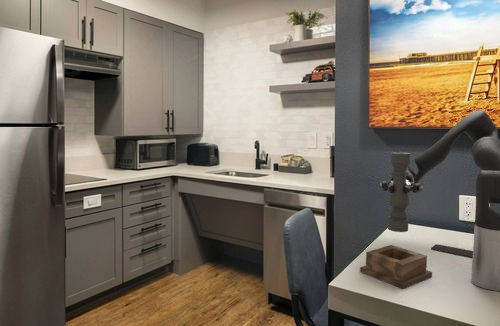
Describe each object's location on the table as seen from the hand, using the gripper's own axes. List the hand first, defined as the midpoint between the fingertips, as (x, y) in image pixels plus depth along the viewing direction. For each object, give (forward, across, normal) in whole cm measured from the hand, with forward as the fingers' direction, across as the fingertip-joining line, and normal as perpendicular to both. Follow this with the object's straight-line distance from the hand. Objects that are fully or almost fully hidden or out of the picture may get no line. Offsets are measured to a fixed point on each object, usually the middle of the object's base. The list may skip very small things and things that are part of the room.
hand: (398, 190), depth 117 cm
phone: (-26, +18, +26) cm, 41 cm away
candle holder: (-3, 0, +14) cm, 14 cm away
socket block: (+5, 0, +26) cm, 26 cm away
